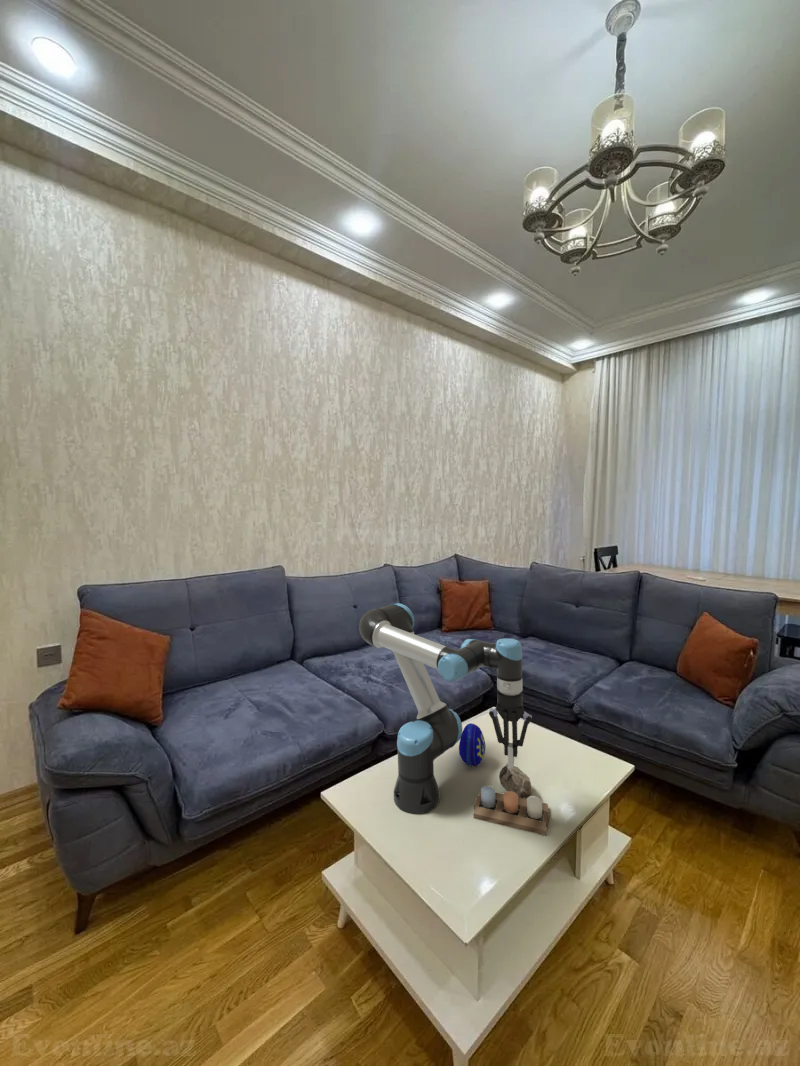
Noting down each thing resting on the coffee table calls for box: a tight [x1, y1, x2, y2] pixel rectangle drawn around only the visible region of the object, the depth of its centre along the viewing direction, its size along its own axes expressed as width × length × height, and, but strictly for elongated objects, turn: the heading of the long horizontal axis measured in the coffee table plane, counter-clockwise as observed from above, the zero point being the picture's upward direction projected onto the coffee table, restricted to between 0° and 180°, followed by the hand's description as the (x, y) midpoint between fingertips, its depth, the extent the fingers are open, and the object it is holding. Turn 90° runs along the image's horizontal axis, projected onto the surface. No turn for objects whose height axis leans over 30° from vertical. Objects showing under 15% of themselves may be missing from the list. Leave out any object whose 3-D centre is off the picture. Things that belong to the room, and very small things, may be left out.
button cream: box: [526, 795, 543, 820], centre depth 130 cm, size 4×4×4 cm
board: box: [473, 790, 550, 836], centre depth 133 cm, size 22×12×2 cm, turn 68°
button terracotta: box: [503, 791, 519, 814], centre depth 133 cm, size 4×4×4 cm
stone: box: [499, 763, 533, 799], centre depth 143 cm, size 7×12×7 cm, turn 35°
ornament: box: [458, 722, 487, 767], centre depth 159 cm, size 11×9×15 cm
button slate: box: [480, 786, 496, 809], centre depth 135 cm, size 4×4×4 cm
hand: (511, 765), depth 132 cm, fingers closed
